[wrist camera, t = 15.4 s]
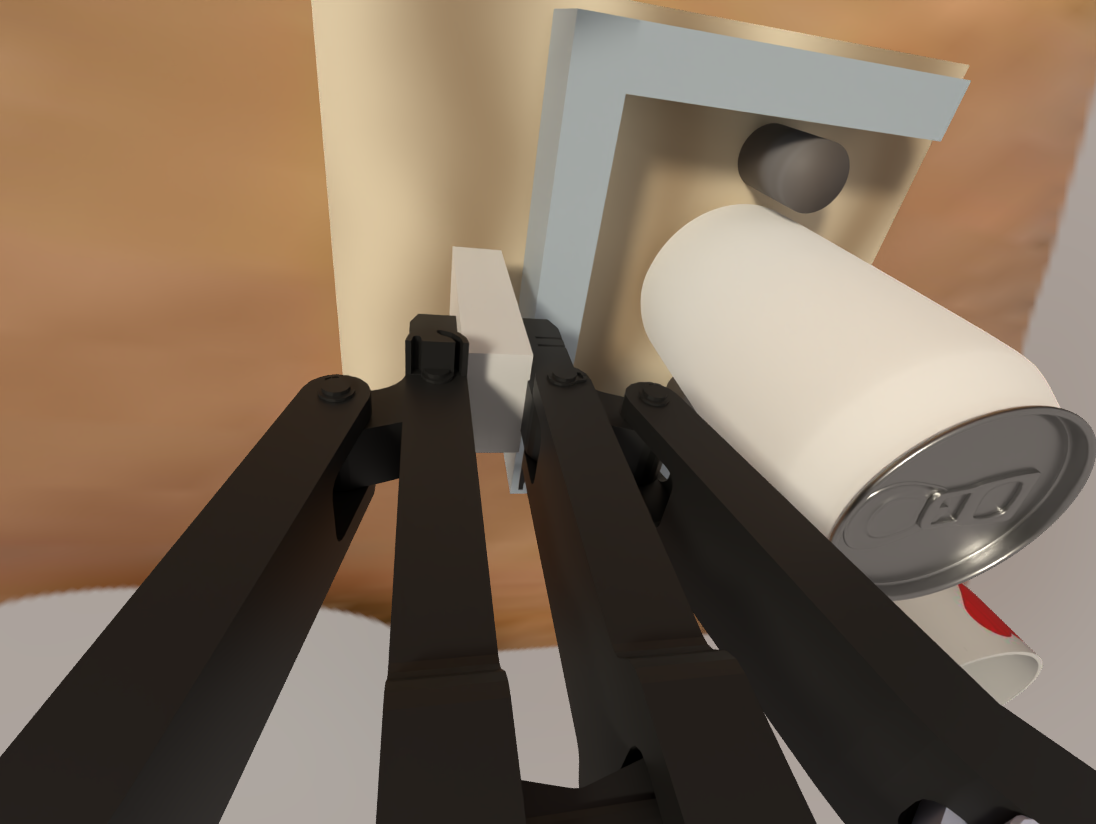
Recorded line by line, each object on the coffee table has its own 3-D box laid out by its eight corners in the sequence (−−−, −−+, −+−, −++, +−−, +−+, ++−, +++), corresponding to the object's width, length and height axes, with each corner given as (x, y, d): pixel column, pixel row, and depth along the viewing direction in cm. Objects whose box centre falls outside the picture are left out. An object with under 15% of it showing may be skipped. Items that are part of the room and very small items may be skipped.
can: (640, 208, 19) (861, 416, 9) (817, 191, 19) (1194, 366, 10) (631, 370, 22) (780, 634, 13) (779, 350, 23) (1023, 587, 14)
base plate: (353, 426, 24) (339, 500, 20) (316, -56, 15) (279, -77, 11) (766, 430, 28) (815, 491, 24) (935, 61, 19) (1053, 73, 15)
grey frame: (501, 443, 23) (510, 493, 21) (553, 8, 15) (577, 8, 12) (735, 444, 26) (767, 488, 23) (895, 71, 17) (971, 80, 15)
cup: (908, 546, 37) (1040, 694, 29) (795, 598, 38) (891, 753, 30) (892, 476, 32) (1045, 629, 24) (764, 538, 33) (868, 703, 25)
